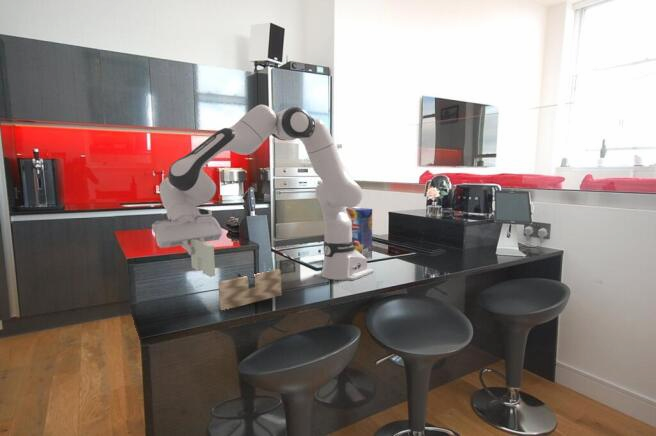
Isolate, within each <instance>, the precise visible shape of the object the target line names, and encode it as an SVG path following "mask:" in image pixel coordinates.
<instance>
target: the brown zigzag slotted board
mask: <svg viewBox="0 0 656 436" xmlns="http://www.w3.org/2000/svg"><path fill="white" fill-rule="evenodd" d="M270 270H271V269H270ZM281 272H282V270H281V269H280V268H277V269H273V270H271V271H267V272H262V273H257V274H254V277H255V278H254V287H249V279H248V277H247V276H243V277H242V276H240V277H235V278H230V279H226V280H221V281H218V294H219V310H220V309H221V310H220V311H222V310H224V311H226V310H225V309H227V310H230V308H231V309H234V308H238V307H242V306H245V305H249V304H252V303H257V302H260V301H264V300H268V299H272V298H275V297H279V296H282V273H281Z"/></svg>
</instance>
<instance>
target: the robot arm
mask: <svg viewBox="0 0 656 436" xmlns="http://www.w3.org/2000/svg"><path fill="white" fill-rule="evenodd" d="M270 136H272V137H274V138H276V139H277V140H279V141H280V140H281V141H293V140H296V139H299V140H300V141H301V142H302V144H303V146H304V148H305V150H306V154H307V156H308V159H309V162H310V164H311V167H312V169H313V171H314V173H315V174H316V175H317V176H318V177H319V178H320V180H321V181H320V182H319V183H318V184H317V185H316V188H315V197H316V199H317V201H318V202H319V205H320V209H321V212H322V217H323V224H324V225H323V226H324V228H323V229H324V241H323V254H324V255H323V264H322V270H321V273H320V276H321V277H322V278H324V279H329V280H338V281H339V280H346V281H348V280H350V281H355V280H357V279H359V278H363V277H365V276H367V275H369V274H372V273H373V272H374V269H372V268H371V267H370V266H368V260H366V258H365V257H364V256H363V255H362V254H360V253H359V252H358V251H357V250H355V246H359V245H360V242H359V241H354V242H353V241H352V222H351V220H350V218H349V216H348V214H347V211H346V208H352V207H357V206H358V205H359V204H360V203H361V202H362V198H363V190H362V187H361V186H360V185H359V184H358V183H357V182H356V181H355V180H354V179H353V178H352V176H351V174H350V173H349V171H348V170H347V169H346V167H345V166H344V164H343V162H342V159H341V157H340V155H339V153H338V150H337V147H336V145H335V142H334V139H333V137H332V135H331V132H330V131H329V128H328V127H327V125H326V123H325V122H324V121H323V120H322V119H320V118H313V117H312V116H311V115H310V114H309V113H308V112H307V111H306V110H305V109H303V108H301V107H296V106H294V107H293V106H291V107H289V108H285V109H282V110H280V111H278V112H275V111H274V110H273V109H272V108H271V107H269V106H268V105H265V104H258V105H256V106H254V107H253V108H252V109H250V110H249V111H248V112H247V113H245V114H244V115H243V116H242V117H241V118H240V119H239V120H238V121H237V122H236V123H234V124H233V125H232V126H231V127H224V128H222V129H219V130H217V131H216V132H214V133H213V134H212V135H210V136H209V137H207V138H206V139H205V140H204V141H203V142H202V143H200V144H199V145H198V146H196V147H195V148H194V149H192V150H191V151H190V152H189V153H188V154H186V155H183V157H180V158H178V159H177V160H175V161H174V162H173V163H172V164H171V165H170V166H169V170H168V173H167V177H166V178H164V179H163V180H162V181H161V183H160V184H159V190H158V191H159V197H160V200H161V203H162V206H163V207H164V209H165V210H166V216H167V219H164V220H156V221H154V222H153V223H152V224H151V229H152V231H153V233H154V234H155V241H156V244H157V247H159V248H160V249H164V248H171V247H177V246H181V248H183V249H184V250H185V251H186V252H187V253H188V255H189V256H191V255H193V254H194V253H195V250H194V247H190V240H192V239H196V240H199V241H202V242H205V243H207V242H213V241H218V240H220V239H221V237H222V234H223V230H222V227H221V226H220V224H219V222H218V220H217V219H216V218H215V217H214V216H212V215H213V213H212V210H210V209H208V208H207V209H205V208H201V207H199V206H202V205H204V204H206V203H208V202H210V201H211V200H212V199H213V198H214V197H215V196H216V193H217V185H216V183H215V181H214V180H213V179H212V178H211V177H210V176H209V175H208V174H207V173H206V172H205V171H204V170H203V169H204V167H205V166H206V165H207V164H209V163H210V162H211V161H212V160H213V159H215V158H216V157H217V156H218V155H219V154H221V153H223V152H226V151H230V152H233V153H235V154H238V155H242V156H243V155H245V156H248V155H251V154H253V153H254V152H256V151H257V150H258V149H259V148H260V147H261V146H262V145H263V144H264V142H265V141H266V140H267V139H268V138H269V137H270Z"/></svg>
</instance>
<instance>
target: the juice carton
mask: <svg viewBox="0 0 656 436" xmlns="http://www.w3.org/2000/svg"><path fill="white" fill-rule="evenodd" d="M346 211H347V214H348V216H349V218H350V220H351V222H352V241H353V242H354V241H359V242H360V245H359V246H355V250H357V251H358V252H359V253H360V254H362V255H363V256H364V257H365V258H366V260H367V259H368V260H372V259H373V208H367V207H357V206H355V207H352V208H346ZM368 260H367V261H368Z"/></svg>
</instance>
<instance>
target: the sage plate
mask: <svg viewBox="0 0 656 436" xmlns="http://www.w3.org/2000/svg"><path fill="white" fill-rule="evenodd" d="M189 246H190V247H194V250H195V253H194V254H193V255H190V257H191V268H192V269H194V270H196V271H198V272H200V271H202V274H204V275H205V276H208V277H210V278H211V277H216V266H215V264H216V263H215V248H214V244H210V243H207V242H202V241H199V240H196V239H192V240H190V244H189Z"/></svg>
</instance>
